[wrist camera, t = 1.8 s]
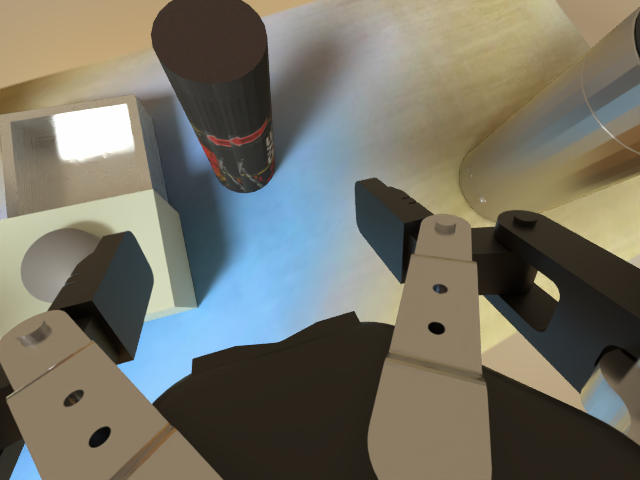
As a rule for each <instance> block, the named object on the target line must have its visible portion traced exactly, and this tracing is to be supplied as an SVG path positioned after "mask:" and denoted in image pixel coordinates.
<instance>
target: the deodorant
mask: <svg viewBox="0 0 640 480" xmlns="http://www.w3.org/2000/svg"><path fill="white" fill-rule="evenodd" d="M151 38H152V45H153V48H154V50H155V52H156V55H157V57H158V59H159V61H160V63H161V65H162V67H163V69H164V71H165V73H166V75H167V77H168V79H169V81H170V83H171V85H172V87H173V89H174V91H175V93H176V95H177V97H178V99H179V101H180V103H181V105H182V107H183V109H184V111H185V113H186V115H187V117H188V119H189V121H190V123H191V125H192V127H193V129H194V132H195V134H196V136H197V138H198V140H199V142H200V144H201V146H202V148H203V150H204V152H205V154H206V156H207V158H208V160H209V162H210V164H211V166H212V168H213V170H214V172H215V174H216V176H217V178H218V180H219V181H220V182H221V183H222V185H223V186H225V187H226V188H228V189H230V190H232V191H235V192H238V193H250V192H255V191H257V190H259V189H261V188H263V187H264V186H265V185H266V184H267V183H268V182H269V181H270V180H271V178H272V176H273V173H274V166H275V162H274V144H273V127H272V110H271V93H270V76H269V59H268V42H267V34H266V29H265V25H264V23H263V22H262V20H261V18H260V16H259V15H258V14H257V13H256V12H255V11H254V10H253V9H252V8H251V7H250V6H249V5H248V4H246V3H245V2H243V1H242V0H173V1H171V2H170V3H168V4H167V5H166V6H165V7H164V8H163V9H162V10H161V11H160V12H159V14H158V15H157V17H156V19H155V20H154V22H153V27H152V32H151Z"/></svg>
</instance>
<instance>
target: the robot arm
mask: <svg viewBox="0 0 640 480" xmlns="http://www.w3.org/2000/svg"><path fill="white" fill-rule="evenodd" d="M638 175H640V7H639V8H638V9H637V10H636V11H634V12H633V13H632V14H631V15H630V16H628V17H627V18H626V19H625V20H624V21H623V22H621V23H620V24H619V25H618V26H617V27H616V28H615V29H613V30H612V31H611V32H610V33H609V34H607V35H606V36H605V37H604V38H603V39H602V40H600V41H599V42H598V43H597V44H596V45H595V46H594V47H592V48H591V49H590V50H589V51H588V52H587V53H585V54H584V55H583V56H582V57H581V58H580V59H578V60H577V61H576V62H575V63H574V64H573V65H571V66H570V67H569V68H568V69H567V70H566V71H564V72H563V73H562V74H561V75H560V76H559V77H557V78H556V79H555V80H554V81H553V82H551V83H550V84H549V85H548V86H547V87H546V88H544V89H543V90H542V91H541V92H540V93H539V94H537V95H536V96H535V97H534V98H533V99H532V100H530V101H529V102H528V103H527V104H526V105H525V106H523V107H522V108H521V109H520V110H519V111H517V112H516V113H515V114H514V115H513V116H512V117H510V118H509V119H508V120H507V121H506V122H505V123H503V124H502V125H501V126H500V127H499V128H498V129H496V130H495V131H494V132H493V133H492V134H490V135H489V136H488V137H487V138H486V139H485V140H483V141H482V142H481V143H480V144H479V145H478V146H476V147H475V148H474V149H473V150H472V151H471V152H469V153H468V154H467V156H466V157H465V158H464V160H463V162H462V164H461V167H460V173H459V180H460V186H461V190H462V193H463V195H464V197H465V199H466V200H467V202H468V203H469V204H470V206H471V207H472V208H473V209H474V210H475V211H476V212H477V213H478V214H480V215H482V216H483V217H485V218H486V219H489V220H491V221H494V222H496V226H495V227H482V228H471V226H470V224H469V223H468V222H467V221H466V220H464V219H463V218H460V217H457V216H454V215H448V214H437V215H434V214H433V213H431V212H430V211H429V210H427V209H426V208H425V207H423V206H422V205H421V204H419V203H418V202H416V201H415V200H414V199H413V198H410V196H409V195H407V194H406V193H405V192H403V191H402V190H399V189H396V188H393V187H387V186H386V185H385V184H384V183H382V182H381V181H380V180H378V179H377V178H370V179H366V180H361V181H357V182H356V183H355V204H356V221H357V225H358V228H359V231H360V233H361V234H362V235H363V237H364V238H365V239H366V240H367V242H368V243H369V244H370V245H371V247H372V248H373V249H374V251H375V252H376V253H377V254H378V256H379V257H380V258H381V259H382V261H383V262H384V263H385V264H386V266H387V267H388V268H389V270H390V271H391V272H392V273H393V275H394V276H395V277H396V278H397V280H398V281H399V282H400V283H401V284H403V283H405V285H404V289H403V294H402V298H401V302H400V307H399V311H398V315H397V320H396V324H395V326H393V325H389V324H385V323H378V322H360V321H359V319H358V317H357V316H356V314H355V312H354V311H353V312H349V313H346V314H342V315H339V316H336V317H332V318H329V319H326V320H322V321H319V322H316V323H314V324H313V325H311V326H309V327H307V328H305V329H303V330H301V331H300V332H298V333H296V334H294V335H292V336H290V337H288V338H287V339H285V340H283V341H281V342H277V343H268V344H256V345H244V346H234V347H231V348H228V349H224V350H221V351H218V352H214V353H211V354H207V355H204V356H201V357H197V358H194V359H193V360H192V373H191V374H190V375H188V376H186V377H184V378H183V379H181V380H180V381H178V382H177V383H175V384H174V385H173V386H171V387H170V388H169V389H167V390H166V391H165V392H164V393H163V394H162V395H161V396H160V397H158V398H157V399H156V400H155V401H154V403H153V404H151V403H150V402H149V401H148V400H147V398H146V397H145V396H144V395H143V394H142V393H141V392H140V391H139V390H138V389H137V388H136V386H135V385H134V384H133V383H132V382H131V381H130V380H129V379H128V378H127V377H126V376H125V374H124V373H123V372H122V371H121V370H120V369H119V368H118V367H117V366H116V365H118V364H121V363H125V362H128V361H132V360H134V357H135V353H136V350H137V346H138V342H139V338H140V334H141V331H142V327H143V323H144V319H145V315H146V312H147V308H148V304H149V300H150V297H151V293H152V289H153V285H154V276H153V272H152V269H151V267H150V265H149V263H148V261H147V259H146V257H145V255H144V253H143V251H142V249H141V247H140V245H139V243H138V241H137V239H136V238H135V236H134V234H133V233H132V232H131V231H124V232H119V233H115V234H110V235H105V236H103V237H102V239H101V240H100V242H99V244H98V245H97V247H96V248H95V250H94V252H93V253H91V254H89V255H88V256H87V257H86V258H84V259H83V260H82V261H81V262H80V263H78V264H77V265H76V267H75V269H74V270H73V272H72V273H71V275H70V276H71V277H69V278H68V279H67V281H66V282H65V286H63V287H62V289H61V290H60V292H59V293H58V295H57V296H56V298H55V300H54V301H53V303H52V304H51V306H50V307H49V309H48V310H47V312H43V313H40V314H37V315H35V316H33V317H30V318H28V319H26V320H25V321H23V322H21V323H20V324H18V325H17V326H15V327H14V328H12V329H11V330H10V331H8V332H7V333H6V334H5V335H4V336H3V337H2V338H1V340H0V480H9V479H10V477H11V474H12V472H13V470H14V467H15V465H16V463H17V460H18V458H19V456H20V453H21V451H22V449H23V446H24V444H25V443H26V445H27V448H28V450H29V452H30V454H31V457H32V459H33V461H34V463H35V465H36V468H37V470H38V472H39V474H40V476H41V479H42V480H640V269H639V268H637V267H635V266H634V265H632V264H630V263H628V262H626V261H625V260H623V259H621V258H619V257H617V256H616V255H614V254H612V253H610V252H608V251H607V250H605V249H603V248H601V247H599V246H598V245H596V244H594V243H592V242H590V241H589V240H587V239H585V238H583V237H581V236H580V235H578V234H576V233H574V232H572V231H571V230H569V229H567V228H565V227H563V226H561V225H560V224H558V223H556V222H554V221H552V220H551V219H549V218H547V217H545V216H543V215H541V214H539V213H541V212H544V211H547V210H550V209H552V208H555V207H558V206H560V205H563V204H565V203H568V202H571V201H573V200H576V199H578V198H581V197H584V196H586V195H589V194H591V193H594V192H597V191H599V190H602V189H604V188H607V187H610V186H612V185H615V184H617V183H620V182H623V181H625V180H628V179H630V178H633V177H636V176H638ZM537 271H540V272H541V273H542V274H544V275H545V276H546V277H548V278H549V279H550V280H552V281H553V282H554V283H555V285H556V286H557V288H558V290H559V293H560V300H559V302H557V301H556V300H555V299H554V298H552V297H551V296H550V295H549V294H547V293H546V292H545V291H544V290H542V289H541V288H540V287H539V286H537V285H536V284H535V283H534V279H535V277H536V274H537ZM478 295H484V297H485V298H486V299H487V300H488V301H489V302H490V303H491V304H492V305H493V306H494V307H495V308H496V309H497V310H498V311H499V312H500V313H501V314H502V315H503V316H504V317H505V318H506V319H507V320H508V321H509V322H510V323H511V324H512V325H513V326H514V327H515V328H516V329H517V330H518V331H519V332H520V333H521V334H522V335H523V336H524V337H525V338H526V339H527V340H528V341H529V342H530V343H531V344H532V345H533V346H534V347H535V349H537V350H538V351H539V352H540V354H542V356H543V357H544V358H546V360H547V361H548V362H549V363H550V364H551V365H552V366H553V367H554V368H555V369H556V370H557V371H558V372H559V373H560V374H561V375H562V376H563V377H564V378H565V379H566V380H567V381H568V382H569V383H570V384H571V385H572V386H573V387H574V388H575V389H576V390H577V391H578V392H579V393H580V394H581V401H582V404H583V406H584V408H585V410H586V411H587V413H585V412H583V411H581V410H579V409H577V408H575V407H573V406H570V405H568V404H566V403H564V402H562V401H559V400H557V399H555V398H553V397H551V396H549V395H546V394H544V393H542V392H540V391H538V390H536V389H533V388H531V387H529V386H527V385H525V384H522V383H520V382H518V381H516V380H514V379H512V378H509V377H507V376H505V375H503V374H501V373H499V372H496V371H494V370H492V369H490V368H488V367H485V366H483V365H482V364H481V341H480V319H479V297H478Z"/></svg>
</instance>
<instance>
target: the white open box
mask: <svg viewBox="0 0 640 480" xmlns="http://www.w3.org/2000/svg"><path fill="white" fill-rule="evenodd" d="M0 138H1V150H2V161H3V172H4V184H5V195H6V206H7V218H12V217H17V216H22V215H27V214H32V213H37V212H42V211H47V210H52V209H57V208H62V207H67V206H72V205H76V204H81V203H86V202H91V201H96V200H101V199H106V198H111V197H116V196H121V195H126V194H131V193H136V192H141V191H145V190H150V189H153V190H154V191H155V192H157V193H158V194H159V195H160V196H161V197H162V198H163V199H164V200H165V201H166V202H167V203H168V204H169V202H168V196H167V191H166V186H165V181H164V176H163V171H162V166H161V160H160V155H159V150H158V145H157V140H156V135H155V130H154V125H153V120H152V119H151V117H150V116H149V114H148V113H147V111H146V110H145V108H144V107H143V105H142V104H141V102H140V101H139V99H138V98H137V97H136V95H135V94H134V95H127V96H121V97H114V98H107V99H101V100H94V101H88V102H81V103H74V104H68V105H61V106H55V107H48V108H41V109H35V110H28V111H22V112H15V113H9V114H2V115H0Z"/></svg>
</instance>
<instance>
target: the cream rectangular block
mask: <svg viewBox="0 0 640 480" xmlns="http://www.w3.org/2000/svg"><path fill="white" fill-rule="evenodd" d="M124 231H131V232H132V233H133V234H134V236H135V238H136V239H137V241H138V243H139V245H140V247H141V249H142V251H143V253H144V255H145V257H146V259H147V261H148V263H149V265H150V267H151V269H152V272H153V276H154V285H153V289H152V293H151V297H150V300H149V304H148V308H147V312H146V315H145V319H144V322H147V321H151V320H155V319H158V318H162V317H166V316H169V315H173V314H177V313H180V312H184V311H188V310H191V309H195V308H198V307H197V302H196V297H195V292H194V287H193V282H192V277H191V272H190V267H189V262H188V257H187V252H186V247H185V242H184V237H183V232H182V227H181V222H180V217H179V213H178V212H177V211H176V210H175V209H174V208H172V207H171V206H170V205H169V204H168V203H167V202H166V201H165V200H164V199H163V198H162V197H161V196H160V195H159V194H158V193H157V192H155V191H154V190H153V189H150V190H145V191H141V192H136V193H131V194H126V195H121V196H116V197H111V198H106V199H101V200H96V201H91V202H86V203H81V204H76V205H72V206H67V207H62V208H57V209H52V210H47V211H42V212H37V213H32V214H27V215H22V216H17V217H12V218H7V219H3V220H0V340H1V338H2V337H3V336H4V335H5V334H6V333H7V332H8V331H10V330H11V329H12V328H14V327H15V326H17V325H18V324H20V323H21V322H23V321H25V320H26V319H28V318H30V317H33V316H35V315H37V314H40V313H43V312H47V310H48V309H49V307H50V306H51V304H52V303H53V301H54V300H55V298H56V296H57V295H58V293H59V292H60V290H61V289H62V287H63V286H65V282H66V281H67V279H68V278H69V277H71V276H70V275H71V273H72V272H73V270H74V269H75V267H76V265H77V264H78V263H80V262H81V261H82V260H83V259H84V258H86V257H87V256H88V255H89V254H91V253H93V252H94V250H95V248H96V247H97V245H98V244H99V242H100V240H101V239H102V237H103V236H105V235H110V234H115V233H119V232H124Z"/></svg>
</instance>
